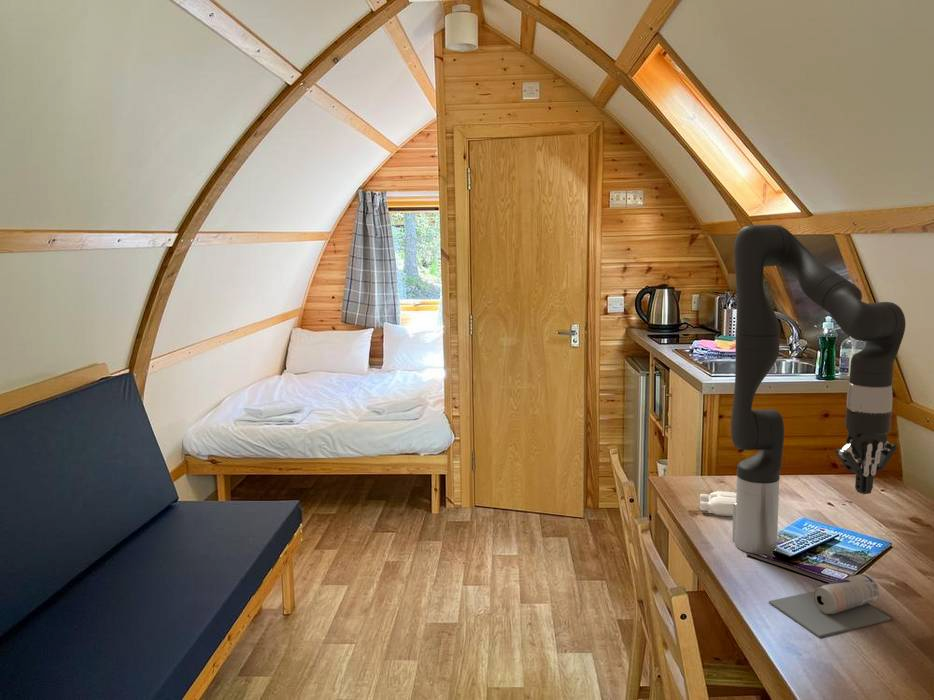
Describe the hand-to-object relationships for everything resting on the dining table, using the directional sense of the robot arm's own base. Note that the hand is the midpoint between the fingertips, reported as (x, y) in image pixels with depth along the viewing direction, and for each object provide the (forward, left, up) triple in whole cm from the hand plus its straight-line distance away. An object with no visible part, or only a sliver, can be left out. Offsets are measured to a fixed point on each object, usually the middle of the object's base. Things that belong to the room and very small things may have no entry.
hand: (863, 492), depth 134 cm
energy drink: (+1, +2, -20) cm, 20 cm away
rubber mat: (+1, -8, -23) cm, 24 cm away
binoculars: (-47, +7, -23) cm, 53 cm away
